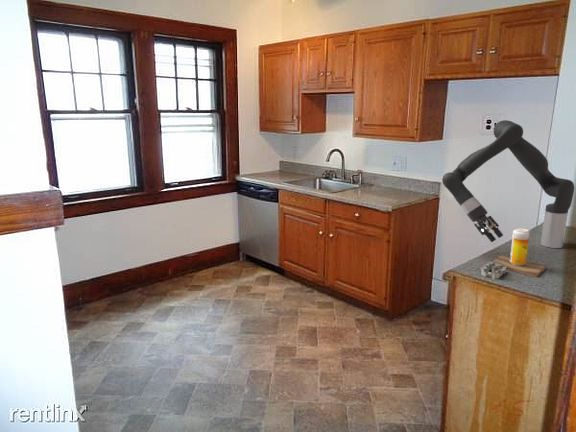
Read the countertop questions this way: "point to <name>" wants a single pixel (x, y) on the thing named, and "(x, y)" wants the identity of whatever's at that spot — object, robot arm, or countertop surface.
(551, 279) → the countertop surface
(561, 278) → the countertop surface
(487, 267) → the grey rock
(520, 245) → the beer glass
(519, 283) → the countertop surface
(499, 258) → the walnut board
